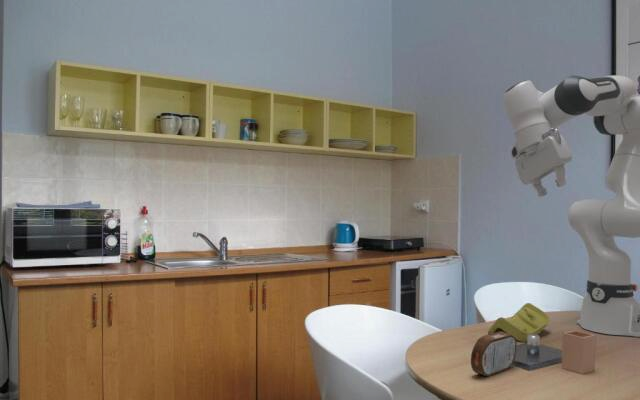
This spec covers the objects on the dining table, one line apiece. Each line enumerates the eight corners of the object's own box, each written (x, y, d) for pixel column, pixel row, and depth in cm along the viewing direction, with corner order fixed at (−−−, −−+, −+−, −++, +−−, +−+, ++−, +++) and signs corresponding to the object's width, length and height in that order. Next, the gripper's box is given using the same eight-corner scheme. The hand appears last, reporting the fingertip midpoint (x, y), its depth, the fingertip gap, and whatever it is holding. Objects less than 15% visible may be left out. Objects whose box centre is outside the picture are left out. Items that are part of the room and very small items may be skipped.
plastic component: (528, 335, 145) (496, 313, 151) (516, 357, 148) (485, 335, 153) (554, 318, 160) (524, 299, 166) (543, 338, 162) (513, 319, 168)
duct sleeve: (574, 364, 128) (575, 330, 128) (594, 370, 124) (596, 335, 124) (561, 367, 126) (562, 332, 126) (582, 374, 121) (583, 338, 121)
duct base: (531, 346, 143) (532, 326, 143) (574, 358, 133) (575, 337, 133) (485, 356, 133) (486, 334, 133) (529, 370, 123) (529, 347, 123)
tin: (505, 364, 127) (507, 328, 127) (518, 367, 125) (519, 330, 125) (468, 377, 117) (470, 338, 117) (481, 381, 115) (483, 341, 115)
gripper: (567, 122, 133) (586, 176, 129) (528, 151, 152) (544, 198, 149) (543, 127, 132) (562, 181, 129) (507, 155, 151) (523, 203, 148)
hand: (552, 190), depth 139 cm, fingers open, 8 cm apart
